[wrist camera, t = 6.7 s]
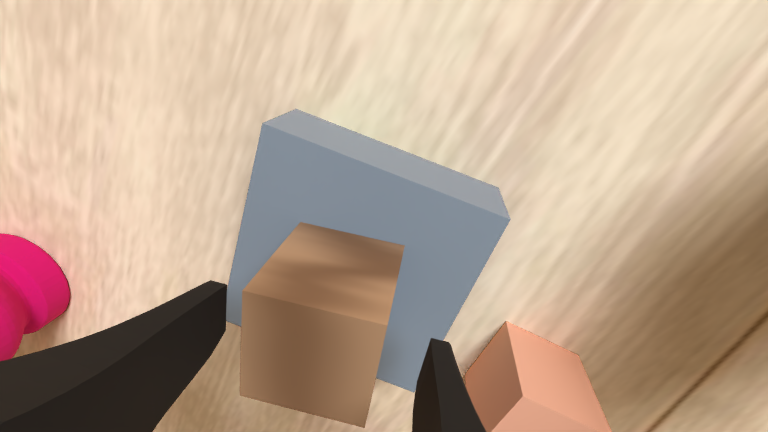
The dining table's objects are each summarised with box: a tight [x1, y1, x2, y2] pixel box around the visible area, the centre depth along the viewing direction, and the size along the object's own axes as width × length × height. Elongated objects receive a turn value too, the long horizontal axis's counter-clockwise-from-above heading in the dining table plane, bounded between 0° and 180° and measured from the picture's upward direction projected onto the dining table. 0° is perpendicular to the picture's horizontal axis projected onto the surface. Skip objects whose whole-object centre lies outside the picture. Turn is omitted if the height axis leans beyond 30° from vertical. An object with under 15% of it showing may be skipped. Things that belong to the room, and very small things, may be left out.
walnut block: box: [240, 222, 405, 428], centre depth 15 cm, size 4×4×5 cm
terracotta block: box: [465, 321, 612, 432], centre depth 20 cm, size 4×4×5 cm
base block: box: [226, 109, 510, 392], centre depth 19 cm, size 10×10×4 cm
